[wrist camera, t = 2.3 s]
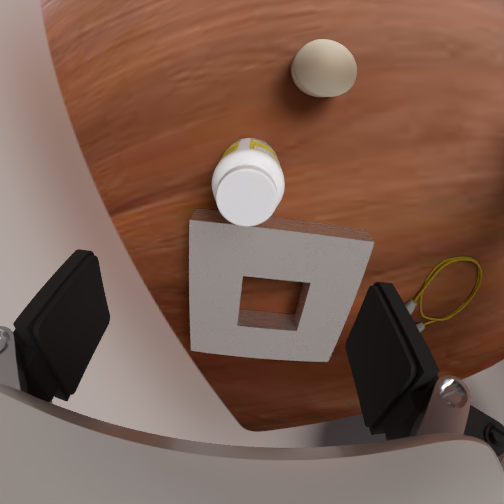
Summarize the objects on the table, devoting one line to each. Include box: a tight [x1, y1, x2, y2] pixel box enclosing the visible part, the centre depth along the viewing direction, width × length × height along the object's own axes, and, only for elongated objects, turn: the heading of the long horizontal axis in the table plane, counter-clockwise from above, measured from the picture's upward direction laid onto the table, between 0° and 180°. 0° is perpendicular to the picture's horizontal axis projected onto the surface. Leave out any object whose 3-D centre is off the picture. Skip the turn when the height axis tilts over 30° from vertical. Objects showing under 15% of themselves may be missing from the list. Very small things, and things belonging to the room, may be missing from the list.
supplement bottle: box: [212, 138, 285, 227], centre depth 23 cm, size 5×5×10 cm
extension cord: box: [405, 256, 482, 332], centre depth 34 cm, size 12×16×2 cm
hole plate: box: [189, 208, 374, 362], centre depth 33 cm, size 18×18×3 cm
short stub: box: [290, 39, 357, 97], centre depth 21 cm, size 5×5×4 cm
